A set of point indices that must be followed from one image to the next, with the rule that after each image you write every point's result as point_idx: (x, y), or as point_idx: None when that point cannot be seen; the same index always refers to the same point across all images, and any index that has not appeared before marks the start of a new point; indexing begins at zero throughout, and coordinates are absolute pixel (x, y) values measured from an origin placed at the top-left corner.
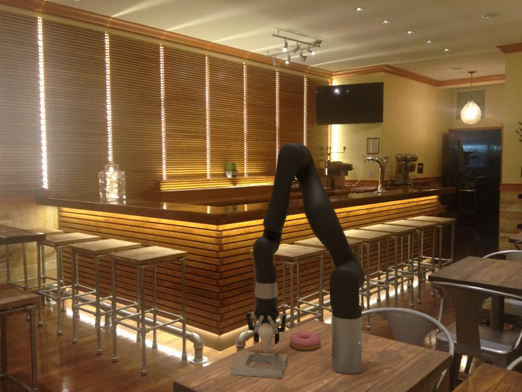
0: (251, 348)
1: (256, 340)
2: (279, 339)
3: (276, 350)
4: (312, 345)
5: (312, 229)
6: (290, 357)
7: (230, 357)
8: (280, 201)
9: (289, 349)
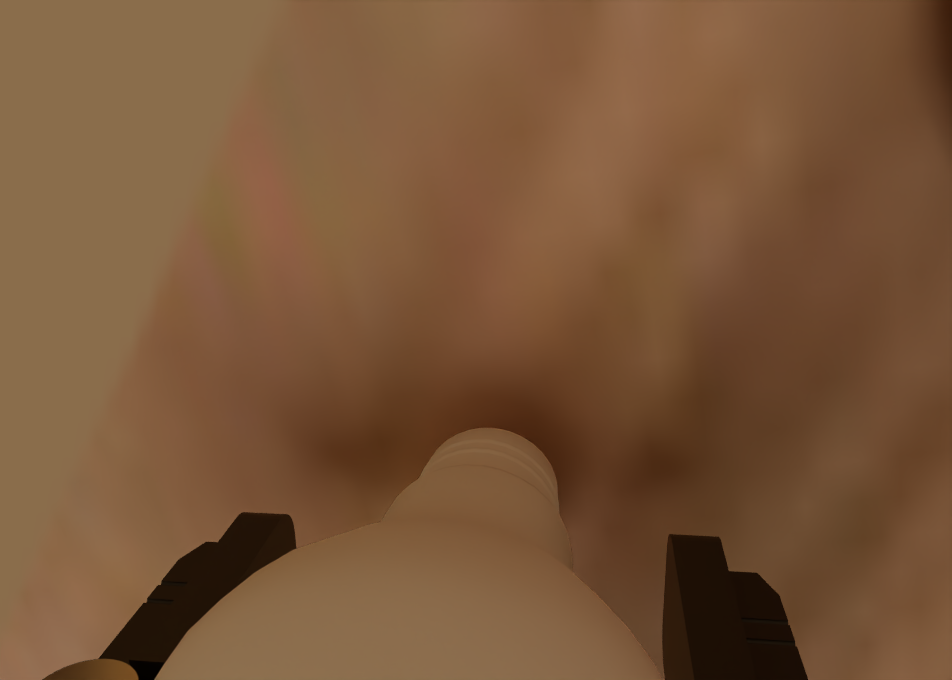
0: (184, 315)
1: None
2: (780, 601)
3: (654, 331)
4: None
5: None
6: (939, 583)
7: (19, 668)
8: None
9: (922, 241)
